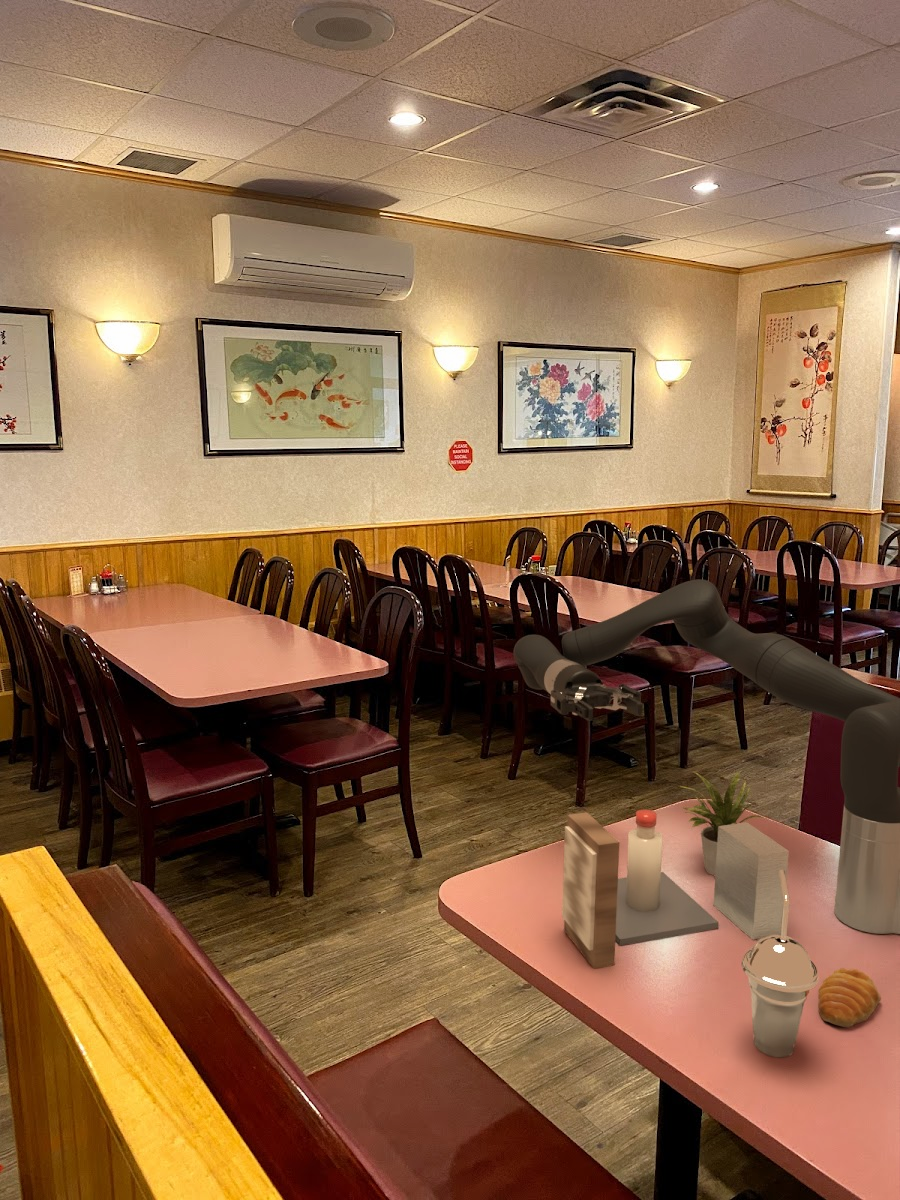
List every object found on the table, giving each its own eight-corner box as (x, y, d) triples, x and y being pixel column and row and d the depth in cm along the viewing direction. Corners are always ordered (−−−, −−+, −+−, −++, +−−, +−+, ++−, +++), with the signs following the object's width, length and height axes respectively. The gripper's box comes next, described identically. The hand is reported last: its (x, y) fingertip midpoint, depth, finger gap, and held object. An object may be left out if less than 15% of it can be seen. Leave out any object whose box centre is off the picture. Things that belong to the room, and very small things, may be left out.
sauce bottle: (662, 898, 140) (666, 810, 138) (655, 914, 136) (659, 823, 133) (630, 891, 143) (634, 804, 140) (622, 906, 138) (625, 816, 135)
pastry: (861, 1040, 110) (864, 1012, 109) (804, 1018, 114) (807, 991, 114) (882, 1003, 117) (884, 976, 117) (828, 983, 122) (830, 957, 121)
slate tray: (572, 891, 145) (572, 885, 144) (662, 877, 149) (662, 871, 149) (619, 945, 130) (620, 939, 129) (718, 928, 134) (718, 922, 134)
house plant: (685, 840, 162) (690, 753, 159) (767, 856, 157) (774, 766, 153) (667, 875, 150) (672, 781, 147) (755, 894, 144) (762, 797, 141)
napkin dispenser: (713, 905, 141) (718, 826, 138) (741, 900, 142) (747, 822, 140) (752, 939, 131) (758, 855, 129) (782, 934, 133) (788, 850, 130)
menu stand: (560, 930, 133) (563, 815, 130) (582, 927, 134) (586, 812, 131) (590, 969, 124) (594, 845, 121) (614, 964, 125) (619, 842, 122)
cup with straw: (724, 1046, 109) (735, 891, 105) (755, 1010, 115) (766, 863, 112) (795, 1080, 103) (809, 917, 99) (823, 1040, 110) (837, 886, 106)
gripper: (535, 667, 157) (575, 693, 142) (610, 661, 161) (656, 685, 146) (534, 709, 158) (573, 739, 143) (608, 702, 162) (654, 730, 147)
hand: (615, 712), depth 144 cm, fingers open, 8 cm apart
